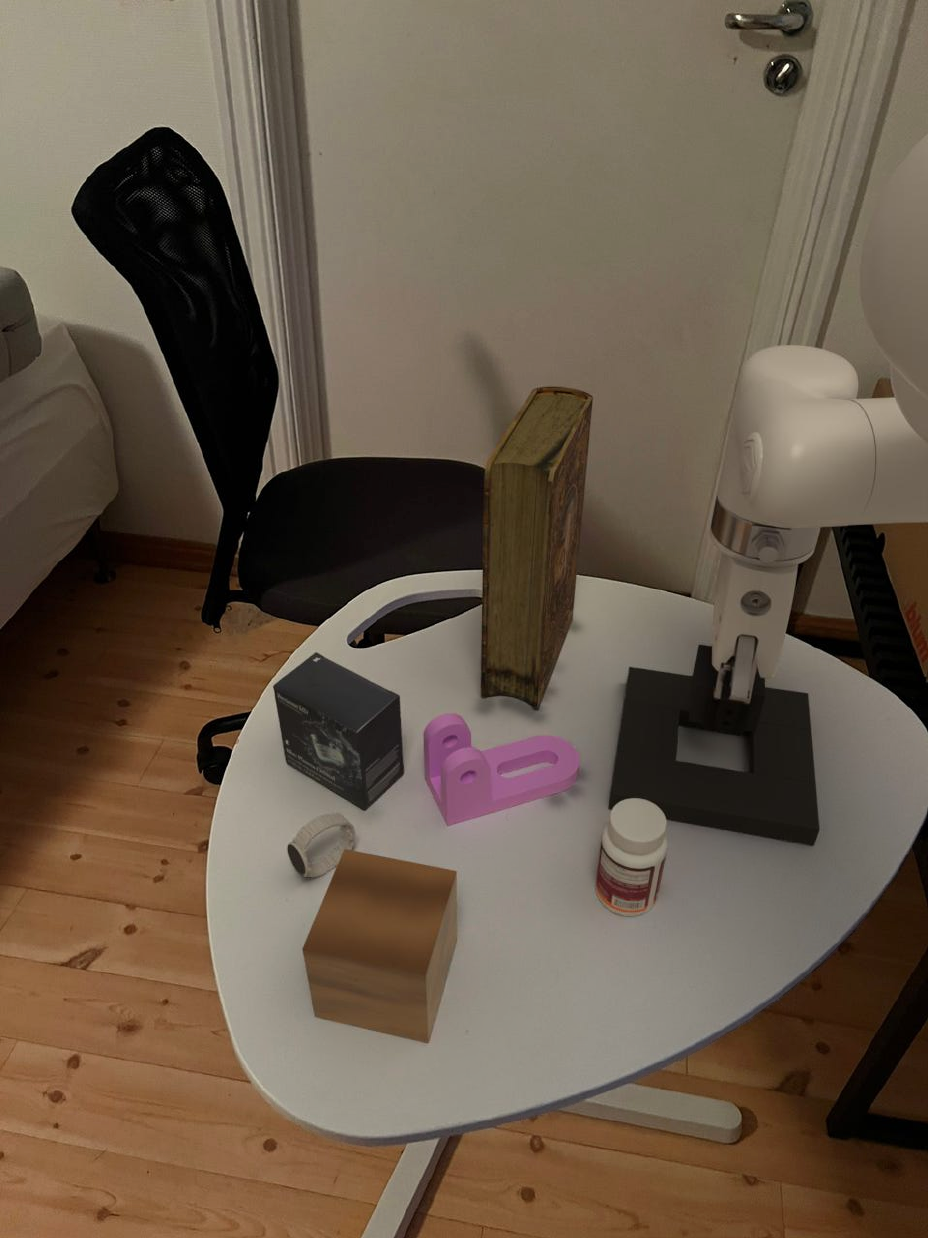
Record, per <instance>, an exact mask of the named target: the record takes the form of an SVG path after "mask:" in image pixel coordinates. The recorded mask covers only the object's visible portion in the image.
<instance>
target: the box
mask: <svg viewBox="0 0 928 1238" xmlns="http://www.w3.org/2000/svg"><path fill="white" fill-rule="evenodd" d="M272 688H273V693H274V700H275V701H274V702H275V705H276V711H277V718H278V723H279V730H280V734H281V735H280V736H281V740H282V747H283V751H284V759H285V762H286V764H287V765H289V766H291V767H292V768H294V769H295V770H297V771H299V772H301V773H302V774H304V775H305V776H307V777H309V778H311V780H314V781H315V782H317V783H318V784H320V785H322V786H324V787H325V788H327V789H328V790H330V791H332V792H333V793H334V794H337V795H338V796H340V797H342V798H343V799H346V800H347V801H348V802H350V803H352V804H353V805H355V806H357V807H358V808H359V809H361V810H363V811H366V810H367V809H368V808H369V807H371V806H372V805H373V804H374V803H375V802H377V800H378V799H379V798H380V797H381V796H382V795H383V794H384V793H386V791H387V790H389V788H390V787H391V786H392V785H394V784H395V783H396V782H397V781H398V780H399V779H401V777H403V776H404V774H405V765H404V748H403V746H404V745H403V734H402V731H403V730H402V714H401V711H402V709H401V708H402V707H401V695H400V694H398V693H397V692H394V691H393V690H390V689H388V688H385V687H383V686H382V685H379V684H378V683H376V682H373V681H371V680H370V679H369V678H366V677H364V676H362V675H360V674H358V673H356V672H354V671H352V670H351V669H348V668H346V667H345V666H342V665H341V664H338V663H337V662H335V661H333V660H331V659H329V658H327V657H325V655H322V654H320V653H319V652H317V651H316V652H314V653H313V654H312V655H310V656H308V658H306V659H305V660H304V661H302V663H300V664H299V665H298V666H296V667H295V668H294V669H292V670H291V671H290V672H288V673H287V674H286V675H284V676H283V677H282V678H281V679H279V680H278V681H277V682H276V683H274V684H273V686H272Z"/></svg>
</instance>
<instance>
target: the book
mask: <svg viewBox="0 0 928 1238" xmlns="http://www.w3.org/2000/svg"><path fill="white" fill-rule="evenodd" d="M593 400H594V397H593V395H591V394H590V393H589V392H587V391H583V390H582V389H581V390H580V389H576V388H572V387H565V386H541V387H540V386H539V387H536V388H533V389H532V390H531V392H530V393H529V395H528V397H527V398H526V400H525V401H524V403H523V404H522V406H521V407H520V409H519V411H518V412H517V413H516V415H515V417H514V419H513V420H512V422H511V423H510V424H509V427H508V428H507V430H505V432H504V434H503V436H502V438H500V440H499V442H498V443H497V445H496V447H495V448H494V450H493V452H492V453H491V454H490V456H489V458H488V460H487V461H486V464H485V469H484V478H483V479H484V481H483V483H484V484H483V522H482V523H483V525H482V526H483V527H482V529H483V531H482V579H481V580H482V581H481V582H482V584H481V585H482V586H481V587H482V588H481V589H482V593H481V640H480V643H481V645H480V647H481V649H480V697H482V698H488V697H491V696H510V697H514V698H517V699H520V700H522V701H523V702H526V703H527V704H529V705H531V706H533V709H537V710H539V709H540V706H541V704H542V702H543V699H544V696H545V694H546V692H547V689H548V686H549V683H550V682H551V678H552V676H553V673H554V670H555V669H556V665H557V663H558V659H559V657H560V654H561V652H562V649H563V648H564V647H563V646H564V644H565V641H566V638H567V636H568V633H569V631H570V628H571V625H572V622H573V620H574V609H575V597H576V587H577V576H578V565H579V554H580V543H581V534H582V533H581V531H582V523H583V509H584V501H585V499H584V498H585V490H586V489H585V488H586V476H587V465H588V455H589V446H590V445H589V444H590V435H591V425H592V424H591V423H592V422H591V421H592V411H593Z"/></svg>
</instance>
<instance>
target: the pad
mask: <svg viewBox="0 0 928 1238" xmlns="http://www.w3.org/2000/svg"><path fill="white" fill-rule="evenodd" d="M697 645H698V646H697V650H696V656H695V660H694V666H693V671H692V675H691V676H692V682H691V696H690V710H689V722H695V723H701V724H703V721H704V716H705V712H706V707H707V702H708V698H709V693H710V689H711V690H714V687H715V682H716V676H717V670H716V669H715V668H714V667H713V665H712V646H711V645H706V644H697ZM729 660H731V661H734V656H731V657H730V658H729ZM731 678H732V672H726V673H725V678H724V684H730V683H731ZM724 684H723V685H724ZM765 687H766V678H760V675H759V671H758V668H757V669H756V674H755V679H754V684H753V689H752V694H751V696H752V701H751V705H750V708H749V712H748V716H747V720H746V724H745V728H744V730H745V731H751V732H756V730H757V726H758V722H759V719H760V715H761V711H762V708H763V704H764V700H765Z"/></svg>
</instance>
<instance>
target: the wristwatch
mask: <svg viewBox="0 0 928 1238" xmlns="http://www.w3.org/2000/svg"><path fill="white" fill-rule="evenodd" d="M334 827H335V828H336V827H339V829H340V831H341V833H342V835H341V837H340V839H339V840H338V842H337V843H336V844H335V845H334V846H333V847H332V849H331V850H329V852H327V853H326V854H325V855H323V857H321V858H319V860H317V861H314V862H312V863H309V860H308V857H307V852H308V849H307V848H308V847H309V845H310V844H311V842H312V840H314V839H315V838H316V837H318V836H319V835H320V834H322V833H323V832H325V831H326V830H329V829H331V828H334ZM355 836H356V832H355V828H354V825H353V824H352V823H351V822H350V821H349V820H348V818H346V816H345V815H344V814H342V812H331V813H324V814H321V815H319V816H316V817H315V818H313V819H311V820H309V821H308V822H307V823H305V824H303V826H302V827H301V828H300V829H299V830H298V831H297V833H296V835H295V837H292V839H291V841H290V842H288V844H287V846H286V847H287V849H286V850H287V851H286V852H287V855H288V858H289V861H290V863H291V864H292V866H293V868H294V869H295V870H296V872H297V874H299V875H301V876H303V877H305V878H317V877H318V878H319V877H322V876H325V875H326V874H328V873H330V872H331V871H332V870H334V869H336V867H337V865H338V863H339V861H340V858H341V856H342V853H343V851H344V849H347V850H352V851H353V847H354V845H355V838H356V837H355Z"/></svg>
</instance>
